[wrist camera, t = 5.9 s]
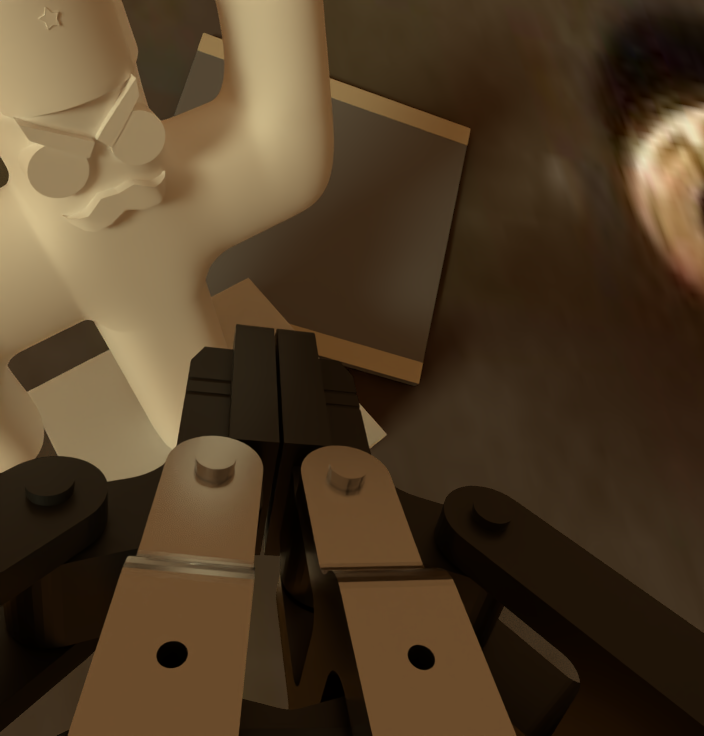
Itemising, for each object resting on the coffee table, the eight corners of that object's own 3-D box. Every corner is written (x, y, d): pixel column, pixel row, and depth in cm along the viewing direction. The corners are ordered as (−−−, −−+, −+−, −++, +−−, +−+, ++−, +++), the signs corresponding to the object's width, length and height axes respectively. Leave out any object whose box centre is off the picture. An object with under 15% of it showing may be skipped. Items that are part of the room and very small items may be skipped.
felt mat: (466, 134, 27) (470, 128, 26) (415, 386, 24) (418, 383, 23) (203, 40, 25) (203, 33, 25) (110, 299, 22) (109, 295, 22)
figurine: (44, 474, 21) (-428, -39, 9) (292, 335, 24) (188, -191, 12) (137, 670, 17) (-462, 243, 5) (416, 476, 20) (447, -81, 8)
